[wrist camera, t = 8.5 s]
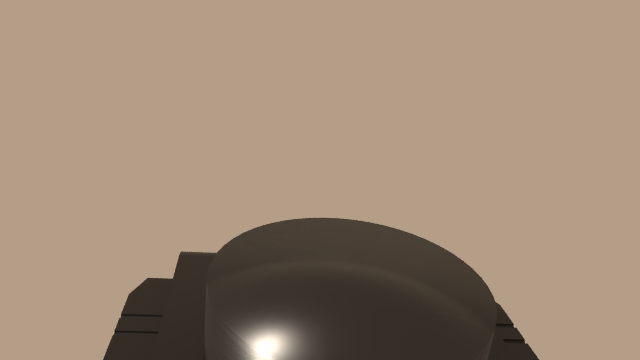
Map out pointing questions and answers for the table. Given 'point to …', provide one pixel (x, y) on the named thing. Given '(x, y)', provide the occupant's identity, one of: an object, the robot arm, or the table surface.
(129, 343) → the robot arm
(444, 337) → the plunger
